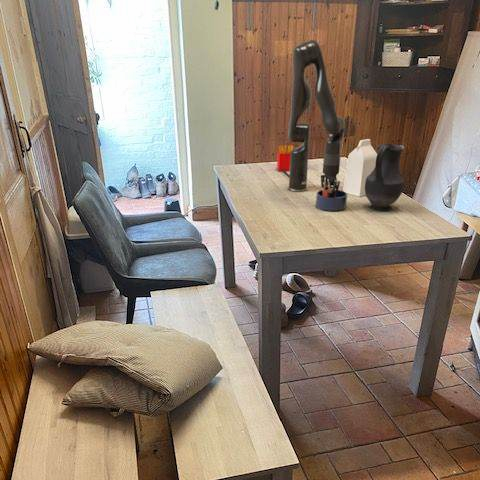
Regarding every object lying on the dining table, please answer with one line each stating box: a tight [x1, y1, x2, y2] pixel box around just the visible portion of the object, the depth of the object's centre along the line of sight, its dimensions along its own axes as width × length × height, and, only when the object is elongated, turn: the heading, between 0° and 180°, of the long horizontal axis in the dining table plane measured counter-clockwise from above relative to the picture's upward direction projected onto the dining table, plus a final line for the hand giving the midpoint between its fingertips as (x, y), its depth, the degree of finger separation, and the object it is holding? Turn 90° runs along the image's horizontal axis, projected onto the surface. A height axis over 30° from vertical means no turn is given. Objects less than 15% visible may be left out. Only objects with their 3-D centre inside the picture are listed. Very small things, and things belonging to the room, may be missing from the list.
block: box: [322, 189, 336, 198], centre depth 236 cm, size 4×4×4 cm
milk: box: [342, 138, 378, 198], centre depth 252 cm, size 12×12×26 cm
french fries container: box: [276, 144, 295, 172], centre depth 296 cm, size 7×9×14 cm
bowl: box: [315, 189, 348, 212], centre depth 236 cm, size 14×14×6 cm
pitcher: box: [365, 143, 405, 212], centre depth 227 cm, size 17×21×30 cm
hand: (328, 199), depth 237 cm, fingers closed on block, 4 cm apart
